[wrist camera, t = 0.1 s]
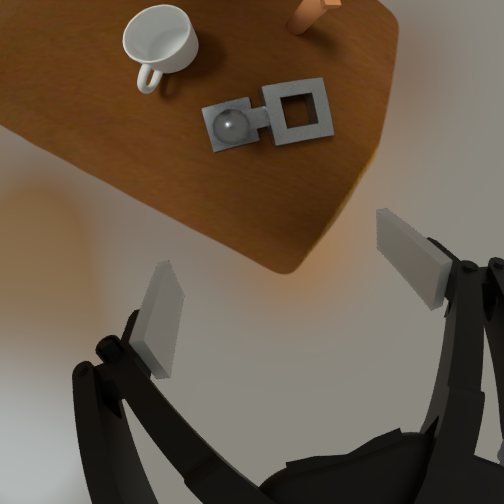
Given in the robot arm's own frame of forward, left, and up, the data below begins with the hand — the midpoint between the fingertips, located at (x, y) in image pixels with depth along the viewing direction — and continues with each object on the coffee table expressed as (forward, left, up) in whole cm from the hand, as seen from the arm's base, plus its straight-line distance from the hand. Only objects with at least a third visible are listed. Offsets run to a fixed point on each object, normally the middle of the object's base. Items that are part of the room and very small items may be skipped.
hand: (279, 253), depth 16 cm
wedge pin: (-21, +13, -28) cm, 37 cm away
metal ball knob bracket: (-7, +4, -28) cm, 29 cm away
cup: (-20, -7, -28) cm, 35 cm away
